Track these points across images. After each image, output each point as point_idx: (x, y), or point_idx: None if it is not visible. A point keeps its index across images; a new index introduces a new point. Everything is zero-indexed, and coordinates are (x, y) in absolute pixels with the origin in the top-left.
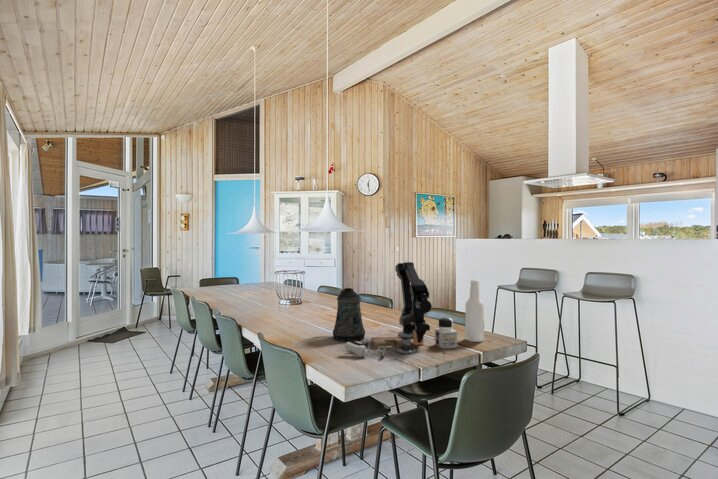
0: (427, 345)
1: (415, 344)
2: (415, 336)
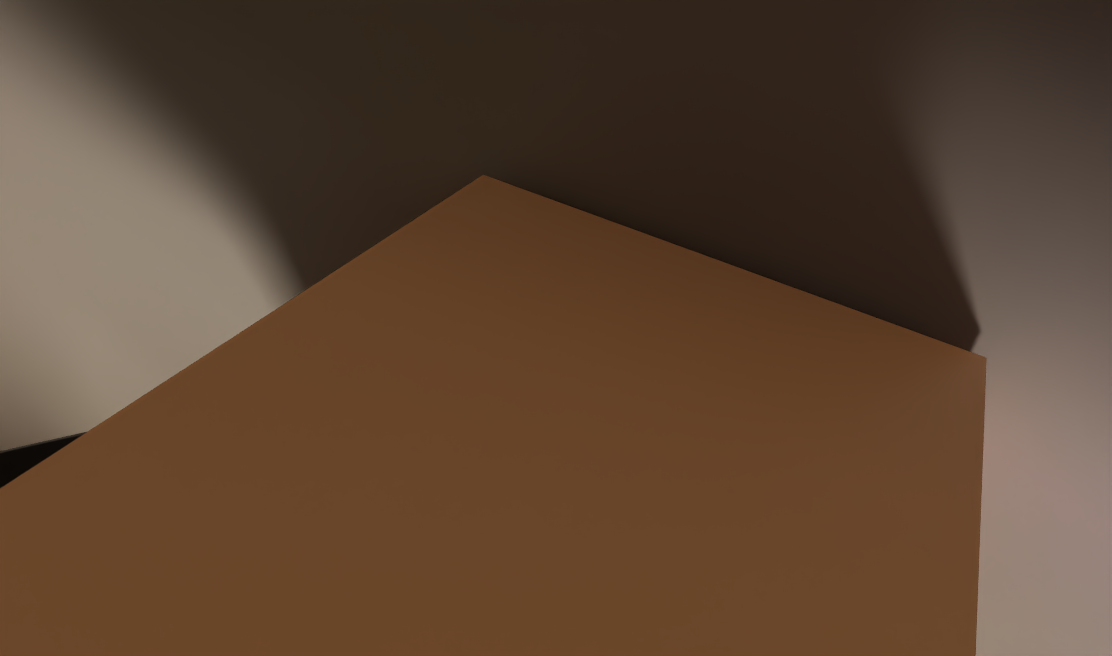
0: None
1: (465, 197)
2: (118, 426)
